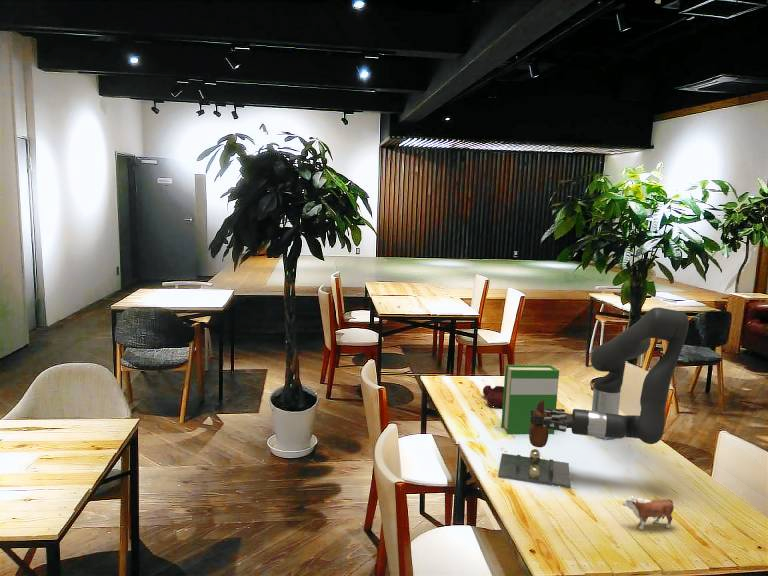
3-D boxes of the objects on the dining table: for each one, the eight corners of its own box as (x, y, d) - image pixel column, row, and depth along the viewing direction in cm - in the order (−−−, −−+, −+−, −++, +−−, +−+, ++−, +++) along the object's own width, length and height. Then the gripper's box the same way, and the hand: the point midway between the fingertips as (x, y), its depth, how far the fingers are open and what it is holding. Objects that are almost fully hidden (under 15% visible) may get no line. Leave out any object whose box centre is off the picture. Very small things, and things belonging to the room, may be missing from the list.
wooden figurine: (548, 450, 174) (551, 402, 172) (528, 448, 175) (531, 401, 173) (546, 442, 181) (549, 396, 179) (527, 440, 182) (530, 394, 180)
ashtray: (527, 411, 235) (528, 399, 235) (487, 409, 236) (488, 397, 235) (518, 397, 253) (519, 386, 252) (481, 395, 253) (482, 384, 253)
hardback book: (507, 434, 209) (512, 370, 206) (501, 426, 216) (505, 364, 213) (554, 434, 211) (559, 370, 208) (546, 426, 218) (551, 365, 215)
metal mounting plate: (501, 456, 190) (502, 444, 189) (568, 465, 184) (569, 454, 184) (498, 477, 174) (499, 464, 174) (570, 488, 169) (571, 475, 168)
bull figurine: (618, 521, 151) (621, 492, 150) (667, 521, 152) (670, 492, 151) (627, 531, 147) (630, 501, 146) (676, 530, 148) (680, 500, 147)
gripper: (587, 403, 179) (531, 397, 184) (591, 419, 166) (531, 412, 170) (585, 426, 180) (530, 420, 185) (589, 443, 167) (529, 436, 171)
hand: (530, 416), depth 177 cm, fingers closed on wooden figurine, 5 cm apart
